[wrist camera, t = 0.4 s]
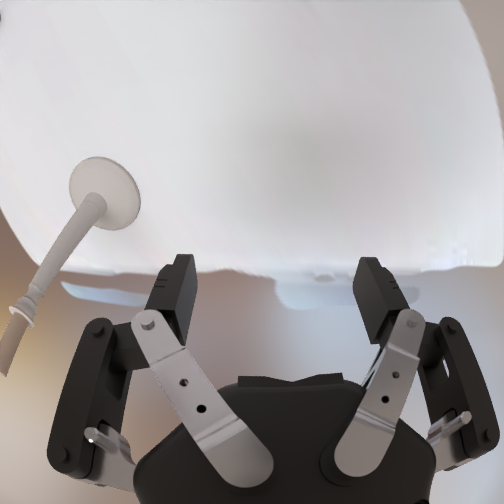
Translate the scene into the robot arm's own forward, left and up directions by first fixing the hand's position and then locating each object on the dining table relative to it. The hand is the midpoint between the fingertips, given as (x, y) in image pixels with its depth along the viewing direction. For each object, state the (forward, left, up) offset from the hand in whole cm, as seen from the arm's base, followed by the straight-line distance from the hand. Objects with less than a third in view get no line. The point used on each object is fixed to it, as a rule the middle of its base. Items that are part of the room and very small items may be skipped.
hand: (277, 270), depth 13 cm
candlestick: (+20, -17, -23) cm, 35 cm away
